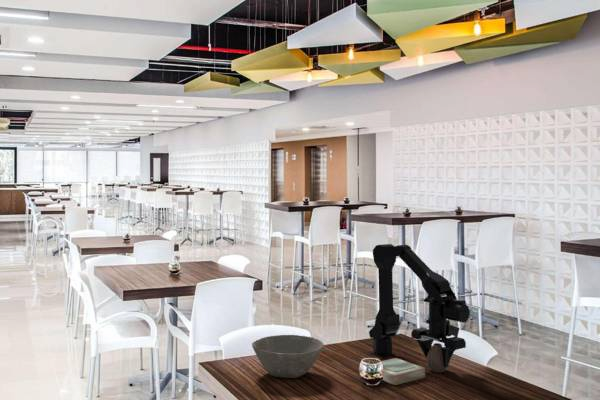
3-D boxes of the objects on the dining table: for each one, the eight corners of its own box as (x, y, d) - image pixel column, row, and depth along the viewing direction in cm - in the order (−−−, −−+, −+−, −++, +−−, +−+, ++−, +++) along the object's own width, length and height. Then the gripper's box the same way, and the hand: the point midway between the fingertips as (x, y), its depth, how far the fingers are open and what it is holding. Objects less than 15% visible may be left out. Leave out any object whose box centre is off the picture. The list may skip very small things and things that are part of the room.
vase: (448, 374, 179) (449, 347, 179) (426, 373, 181) (427, 346, 180) (447, 368, 186) (447, 341, 186) (426, 366, 187) (426, 340, 187)
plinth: (366, 373, 180) (366, 363, 180) (395, 366, 187) (395, 357, 187) (395, 385, 169) (395, 374, 169) (425, 377, 176) (425, 367, 176)
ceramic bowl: (254, 364, 190) (254, 334, 190) (321, 364, 190) (322, 334, 190) (248, 386, 167) (248, 353, 167) (325, 386, 168) (325, 353, 168)
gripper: (477, 319, 180) (476, 367, 180) (433, 309, 195) (432, 353, 196) (454, 323, 174) (453, 373, 174) (410, 313, 189) (409, 359, 189)
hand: (437, 364), depth 183 cm, fingers closed on vase, 7 cm apart
